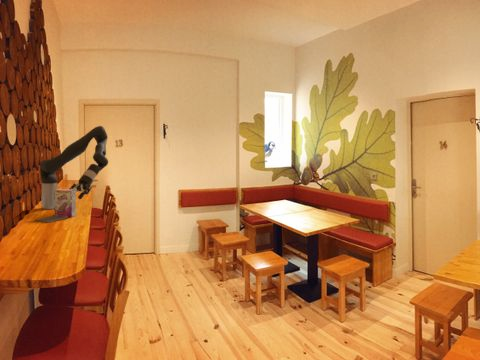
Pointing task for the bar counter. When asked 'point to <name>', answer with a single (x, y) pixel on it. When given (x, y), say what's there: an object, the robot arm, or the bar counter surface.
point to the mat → (52, 218)
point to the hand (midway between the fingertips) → (73, 198)
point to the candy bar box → (65, 202)
